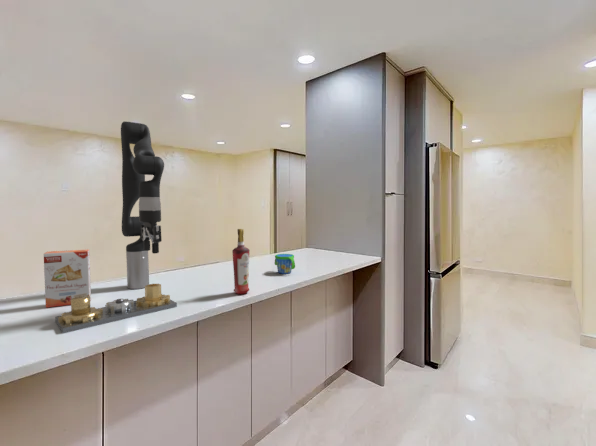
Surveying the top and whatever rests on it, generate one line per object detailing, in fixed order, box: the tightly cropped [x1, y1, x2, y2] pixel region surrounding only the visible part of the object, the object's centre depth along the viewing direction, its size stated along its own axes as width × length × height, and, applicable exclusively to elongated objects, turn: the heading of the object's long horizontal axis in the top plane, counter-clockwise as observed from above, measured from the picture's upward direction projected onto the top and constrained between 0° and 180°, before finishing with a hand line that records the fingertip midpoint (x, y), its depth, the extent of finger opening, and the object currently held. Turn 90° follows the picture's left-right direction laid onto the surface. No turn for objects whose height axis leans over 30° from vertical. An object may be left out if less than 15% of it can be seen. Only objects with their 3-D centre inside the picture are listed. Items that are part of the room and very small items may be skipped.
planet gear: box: [135, 283, 171, 307], centre depth 120 cm, size 12×12×6 cm
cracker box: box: [43, 249, 92, 309], centre depth 123 cm, size 14×6×21 cm, turn 117°
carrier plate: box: [54, 296, 178, 334], centre depth 112 cm, size 14×35×8 cm, turn 135°
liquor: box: [232, 228, 250, 295], centre depth 137 cm, size 7×7×28 cm
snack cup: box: [274, 253, 296, 275], centre depth 178 cm, size 16×10×10 cm
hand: (151, 251), depth 120 cm, fingers open, 8 cm apart
